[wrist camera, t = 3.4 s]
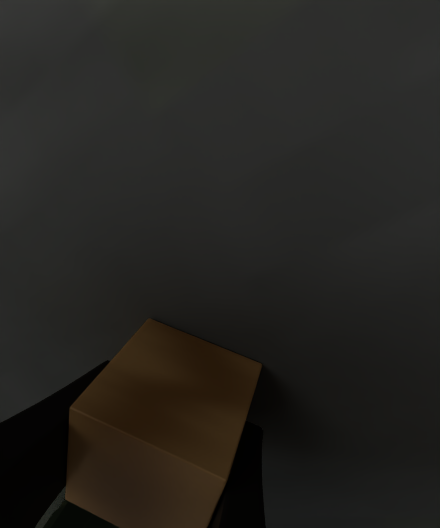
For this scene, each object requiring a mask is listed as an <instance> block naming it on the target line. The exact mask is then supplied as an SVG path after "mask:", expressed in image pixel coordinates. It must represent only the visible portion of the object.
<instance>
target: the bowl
mask: <svg viewBox="0 0 440 528" xmlns="http://www.w3.org/2000/svg"><path fill="white" fill-rule="evenodd" d="M43 528H119V527H118V526H116V525H114V524H112V523H110V522H108V521H106V520H104V519H102V518H100V517H98V516H96V515H94V514H92V513H91V512H89V511H87V510H85V509H83V508H81V507H79V506H77V505H75V504H73V503H71V502H69V501H67V500H65V501H64V502H63V503H62V504H61V506H60V507H59V508H58V509H57V510H56V511H54V513H53V514H52V515H51V517H50V518H49V520H48V521H47V523H46V524H45V525H44V527H43Z"/></svg>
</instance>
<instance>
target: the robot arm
mask: <svg viewBox="0 0 440 528" xmlns="http://www.w3.org/2000/svg"><path fill="white" fill-rule="evenodd" d="M109 362H110V361H108V360H107V361H105V362H103V363H102V364H100V365H99V366H97V367H95V368H94V369H92V370H91V371H89V372H88V373H86V374H85V375H83V376H82V377H80V378H78V379H77V380H75V381H74V382H72V383H70V384H69V385H67V386H66V387H64V388H62V389H61V390H59V391H57V392H56V393H54V394H52V395H51V396H49V397H47V398H45V399H44V400H42V401H40V402H39V403H37V404H35V405H33V406H31V407H29V408H28V409H26V410H24V411H22V412H20V413H18V414H16V415H15V416H13V417H11V418H9V419H7V420H5V421H3V422H1V423H0V528H35V526H36V525H37V523H38V522H39V520H40V519H41V517H42V516H43V515H44V513H45V512H46V510H47V509H48V508H49V506H50V505H51V504H52V502H53V501H54V500H55V498H56V497H57V496H58V495H59V493H60V492H61V491H62V489H63V488H64V487H65V485H66V473H67V452H68V430H69V409H70V407H71V405H72V404H73V403H74V402H75V401H76V400H77V399H78V397H79V396H80V395H81V394H82V393H83V392H84V391H85V390H86V388H87V387H88V386H89V385H90V384H91V383H92V382H93V381H94V379H95V378H96V377H97V376H98V375H99V374H100V373H101V371H102V370H103V369H104V368H105V367H106V366H107V365H108V364H109ZM262 439H263V430H262V428H261V427H260V426H257V425H255V424H253V423H251V422H248V421H245V424H244V428H243V431H242V434H241V438H240V441H239V444H238V448H237V451H236V454H235V457H234V461H233V464H232V467H231V471H230V474H229V477H228V480H227V483H226V485H225V488H224V490H223V493H222V495H221V497H220V500H219V502H218V504H217V507H216V509H215V512H214V514H213V516H212V519H211V521H210V524H209V526H208V528H266V526H265V516H264V503H263V489H262Z"/></svg>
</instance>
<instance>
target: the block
mask: <svg viewBox="0 0 440 528" xmlns="http://www.w3.org/2000/svg"><path fill="white" fill-rule="evenodd" d="M261 368H262V364H261V363H259V362H256V361H254V360H251V359H249V358H246V357H244V356H241V355H239V354H236V353H234V352H231V351H229V350H226V349H224V348H222V347H219V346H217V345H214V344H212V343H209V342H207V341H204V340H202V339H199V338H197V337H194V336H192V335H189V334H187V333H184V332H182V331H180V330H177V329H175V328H172V327H170V326H167V325H165V324H162V323H160V322H157V321H155V320H152V319H150V318H149V319H148V320H147V321H146V322H145V323H144V324H143V325H142V326H141V327H140V329H139V330H138V331H137V332H136V333H135V334H134V335H133V336H132V338H131V339H130V340H129V341H128V342H127V343H126V344H125V346H124V347H123V348H122V349H121V350H120V351H119V352H118V353H117V355H116V356H115V357H114V358H113V359H112V360H111V361H110V362H109V364H108V365H107V366H106V367H105V368H104V369H103V370H102V371H101V373H100V374H99V375H98V376H97V377H96V378H95V379H94V381H93V382H92V383H91V384H90V385H89V386H88V387H87V388H86V390H85V391H84V392H83V393H82V394H81V395H80V396H79V397H78V399H77V400H76V401H75V402H74V403H73V404H72V405H71V407H70V409H69V430H68V452H67V473H66V494H65V499H66V500H67V501H69V502H71V503H73V504H75V505H77V506H79V507H81V508H83V509H85V510H87V511H89V512H91V513H92V514H94V515H96V516H98V517H100V518H102V519H104V520H106V521H108V522H110V523H112V524H114V525H116V526H118V527H119V528H208V526H209V524H210V521H211V519H212V516H213V514H214V512H215V509H216V507H217V504H218V502H219V500H220V497H221V495H222V493H223V490H224V488H225V485H226V483H227V480H228V477H229V474H230V471H231V467H232V464H233V461H234V457H235V454H236V451H237V448H238V444H239V441H240V438H241V434H242V431H243V428H244V424H245V421H246V418H247V415H248V411H249V408H250V405H251V401H252V398H253V395H254V391H255V388H256V385H257V382H258V378H259V375H260V372H261Z"/></svg>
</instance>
